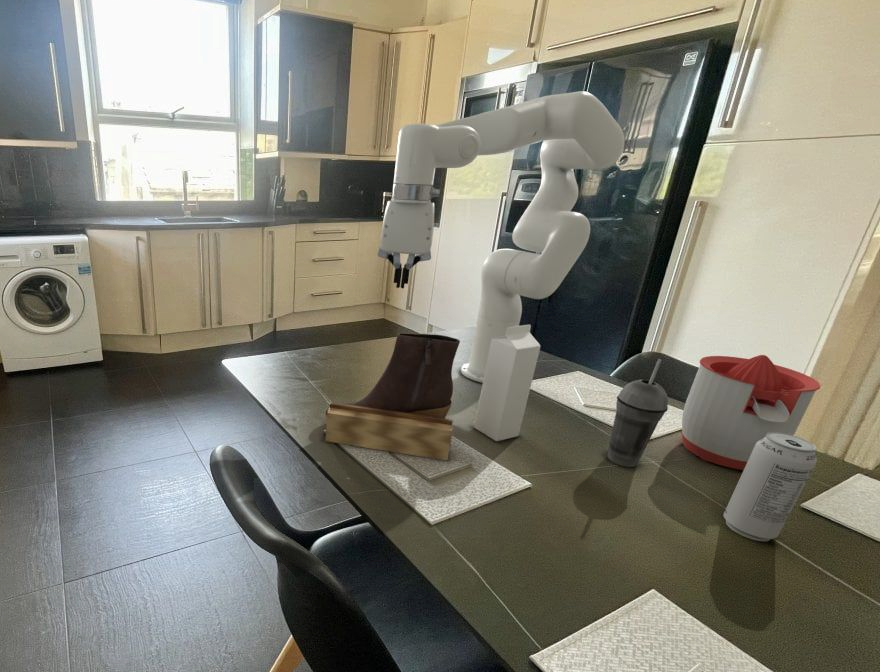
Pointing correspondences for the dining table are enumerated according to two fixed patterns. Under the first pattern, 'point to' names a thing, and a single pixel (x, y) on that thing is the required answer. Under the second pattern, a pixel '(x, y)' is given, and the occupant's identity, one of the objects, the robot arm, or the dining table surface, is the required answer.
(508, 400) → the milk
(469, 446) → the dining table surface
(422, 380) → the boot
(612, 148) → the robot arm
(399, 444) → the wooden block
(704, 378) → the citrus juicer
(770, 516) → the energy drink can
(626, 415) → the beverage cup
